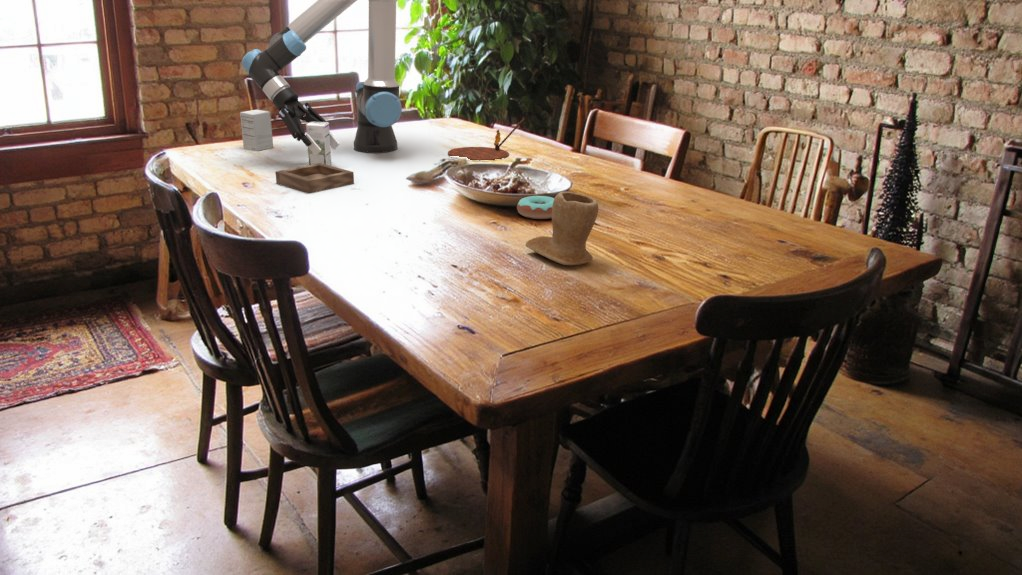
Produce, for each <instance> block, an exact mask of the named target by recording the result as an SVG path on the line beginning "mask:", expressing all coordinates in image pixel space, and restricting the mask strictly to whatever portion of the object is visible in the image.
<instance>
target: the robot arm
mask: <svg viewBox="0 0 1022 575" xmlns="http://www.w3.org/2000/svg"><path fill="white" fill-rule="evenodd" d="M357 1H358V0H316V1H315V2H314V3H313V4H312V5H310V6H309V7H307V9H305V11H303V12H302V13H301V14H299V15H298V16H297V17H296V18H295V19H294V20H292V21H291V22H290V23H289V24H288V25H287V26H286V27H284V28H283V29H282V30H281V31H279V32H277V33H275V34H274V35H272V37H271V39H270V41H269V47H268V48H267V49H265V50H263V51H261V50H260V49H259V48H254V49H252V50H250V51H248V52H247V53H246V54H245V55H243V58H242V59H241V65H242V68H243V69H244V71H245V72H246V73H247V74H248V76H249V77H250V78H251V79H252V81H253V82H254V83H255V84H256V85H257V86H258V87H259V89H260V90H261V91H262V92H263V93H264V94H265V95H266V97H267V98H268V99H269V100H270V101H272V104H273V106H274V107H275V108H276V109H277V110H278V111H279V112H278V113H277V115H278V117H279V118H280V119H281V120H282V121H283V123H284V124H285V127H286V128H287V130H288V131H289V133H290V135H291V137H292V138H293V139H295V140H296V141H298V142H300V141H302V142H303V143H304V145H305V146H306V147H307V149H308V148H309V149H310V150H311V151H312V153H313V154H314V155H315V156H317V155H318V153H319V152H320V151H321V149H320V147H319V146H318V145H317V144H316V143H315V141H314V140H313V139H312V138H311V137H310V136H309V134H307V133H306V131H305V129H304V126H303V124H302V122H306V123H307V124H308V123H309V122H328V121H327V120H325V119H324V118H323V117H322V116H321V115H320V113H318V112H317V111H316V110H315V109H314V108H312V106H311V105H310V103H309V102H306V103H305V104H302V103H301V102H300V101H299V95H298V94H297V92H296V91H295V90H294V89H293V88H292V87H291V85H290V84H289V83H288V81H286V79H285V78H284V77H283V76H282V75H281V74H280V72H281V71H283V69H284V68H286V67H287V66H288V65H289V64H291V63H292V62H293V61H295V60H296V59H298V58H299V57H301V55H302V54H303V53H304V52H305V51H306V50H307V45H306V43H307V42H308V41H310V40H311V39H312V38H313V37H314V36H315V35H317V34H318V33H319V32H320V31H322V30H323V29H324V28H325V27H327V26H328V25H329V24H330V23H331V22H333V21H334V20H335V19H337V17H339V16H340V15H341V14H342V13H344V11H347V9H348V8H350V7H351V6H352V5H353V4H354V3H356V2H357ZM397 2H398V0H368V39H367V41H368V50H367V51H368V52H367V53H368V54H367V55H368V57H367V60H368V62H367V63H368V64H367V66H368V68H367V79H366V80H365V81H358V82H357V83H356V85H355V96H356V113H357V114H356V115H357V116H356V118H357V128H356V129H357V130H356V133H355V137H354V140H353V150H355V151H357V152H360V153H375V154H377V153H388V152H393V151H396V150H397V149H398V140H397V138H396V135H395V134H396V133H395V131H394V129H393V125H395V123H397V122H398V121H399V119H400V117H401V115H402V112H403V107H402V103H401V100H400V84H399V82H398V81H397V80H396V39H397V38H396V36H397V35H396V34H397V33H396V32H397V30H396V29H397ZM329 133H330V148H332V150H334V151H335V150H336V149H337V148H338V147H339V146H340V142H339V141H338V140H337V138H336V137H335V136H334V135H333V134H332V132H331V131H330V130H329Z"/></svg>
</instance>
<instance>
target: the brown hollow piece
mask: <svg viewBox="0 0 1022 575" xmlns="http://www.w3.org/2000/svg"><path fill="white" fill-rule="evenodd" d="M553 198H554V201H553V205H552V218H551V224H552V226H551V228H552V236H548V235H547V236H542V235H541V236H536V237H533V238H531V239H528V240H527V241H526V242H525V247H526V248H528V249H530V250H531V251H533V252H534V253H537V254H539V255H541V256H542V257H545V258H546V259H548V260H550V261H553V262H555V263H558V264H560V265H564V266H578V265H579V266H580V265H585V264H588V263H589V262H592V260H593V259H594V258H593V255H592V254H591V253H590V252H589V251H588V250H587V249H586V248H587V246H586V245H587V241H588V238H589V236H590V234H591V231H592V229H593V227H594V226H595V223H596V221H597V218H598V215H599V203H598V201H597V200H596V199H595V198H593V197H590V196H588V195H586V194H582V193H576V192H574V191H573V192H572V191H560V192H558V193H557V194H556V195H555V197H553Z"/></svg>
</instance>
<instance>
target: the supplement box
mask: <svg viewBox="0 0 1022 575" xmlns="http://www.w3.org/2000/svg"><path fill="white" fill-rule="evenodd" d="M239 115H240V124H241V126H240V127H241V136H242V144H243V149H244V150H245V149H246V150H249V151H254V152H260V151H265V150H269V149H273V148H274V139H273V129H272V128H273V127H272V121H271V120H272V117H271V112H270V111H268V110H262V109H252V110H245V111H241V112H239Z"/></svg>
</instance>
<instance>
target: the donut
mask: <svg viewBox="0 0 1022 575" xmlns="http://www.w3.org/2000/svg"><path fill="white" fill-rule="evenodd" d="M554 198H555V197H551V196H548V195H547V196H546V195H531V196H526V197H523V198H521V199H519V201H518V202H517V205H516V210H517V213H519V215H521V216H523V217H525V218H527V219H532V220H549V219H552V205H553V201H554Z"/></svg>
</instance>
